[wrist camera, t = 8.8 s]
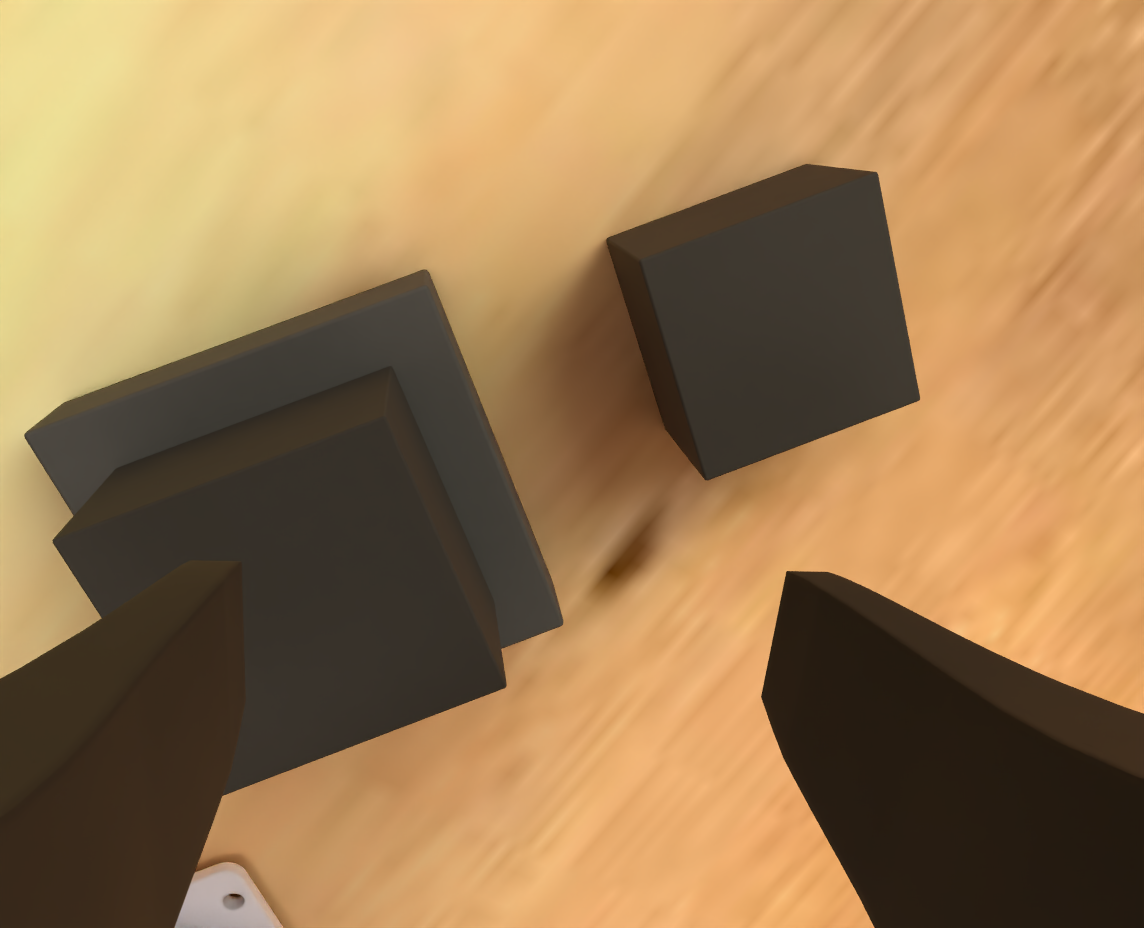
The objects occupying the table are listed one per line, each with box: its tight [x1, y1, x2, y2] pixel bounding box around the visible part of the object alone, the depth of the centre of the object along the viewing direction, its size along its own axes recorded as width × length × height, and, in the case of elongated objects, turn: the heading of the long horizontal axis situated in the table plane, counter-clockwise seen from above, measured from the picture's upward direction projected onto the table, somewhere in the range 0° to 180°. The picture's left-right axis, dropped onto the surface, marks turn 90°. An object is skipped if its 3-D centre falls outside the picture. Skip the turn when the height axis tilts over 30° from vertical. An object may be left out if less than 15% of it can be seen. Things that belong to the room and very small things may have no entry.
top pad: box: [606, 164, 920, 480], centre depth 18 cm, size 5×5×3 cm
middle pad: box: [53, 366, 506, 796], centre depth 17 cm, size 6×6×3 cm
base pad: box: [24, 270, 563, 649], centre depth 19 cm, size 8×8×2 cm
